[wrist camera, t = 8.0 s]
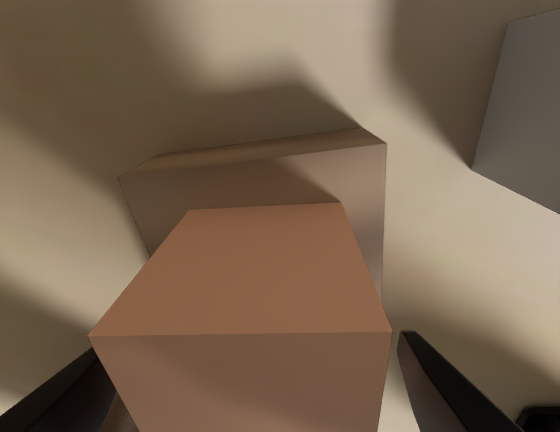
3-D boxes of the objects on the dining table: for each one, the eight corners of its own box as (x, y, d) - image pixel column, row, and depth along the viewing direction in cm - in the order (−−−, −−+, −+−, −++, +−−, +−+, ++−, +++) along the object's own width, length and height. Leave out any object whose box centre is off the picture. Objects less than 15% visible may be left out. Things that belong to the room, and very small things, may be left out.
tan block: (361, 287, 17) (379, 341, 14) (210, 299, 18) (190, 353, 15) (360, 125, 13) (387, 143, 9) (161, 152, 14) (117, 177, 10)
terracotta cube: (338, 316, 13) (369, 481, 8) (215, 318, 13) (164, 476, 8) (341, 202, 10) (392, 331, 5) (189, 209, 11) (86, 336, 5)
